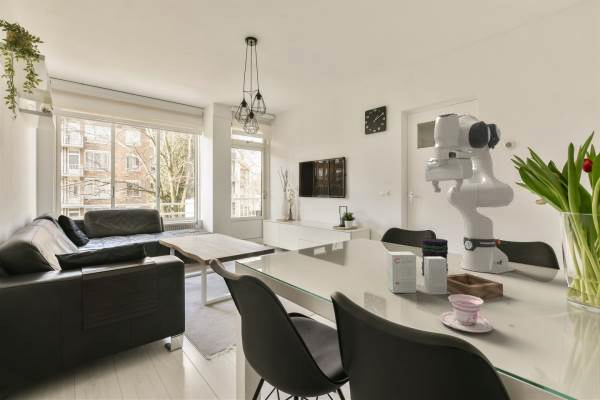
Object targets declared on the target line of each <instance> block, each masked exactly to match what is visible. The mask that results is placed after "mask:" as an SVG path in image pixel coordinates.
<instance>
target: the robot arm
mask: <svg viewBox="0 0 600 400" xmlns="http://www.w3.org/2000/svg"><path fill="white" fill-rule="evenodd" d="M434 124H435V125H434V131H433V133H434V134H433V138H434V147H433V150H434V151H433V158H430V159H429V160H428V161H427V162H426V166H425V169H424V170H425V171H424V172H425V173H424V180H425V181H426V182H431V185H432V187H433V191H434V193H436V194H437V193H441V192H442V191H441V189H442V188H441V187H440V186H439V184H440V182H443V181H444V182H445V181H455V183H456V184H453V185H451V186H450V187H449V188H448V190H447V192H446V193H447V194H446V199H447V201H448V203H449V204H450V205H451V206H452V207H454V208H455V209H456V210H457V211H458V212H459V213H460V215H461V218H462V219H463V220H462V221H463V227H464V237H463V239H462V241H463V246H464V247H463V249H462V257H461V262H460V268H461V269H465V270H467V271H468V270H469V271H472V272H478V273H479V272H481V273H491V274H498V275H499V274H502V273H507V272H513V271H515V270H516V268H515V267H514V266H511V265H509V257H508V256H507V255H506V253H505V252H503V251H501V250H500V248H498V247H497V244H498V245H500V244H501V240H500V239H499V238H498V239H497V238H494V222H493V220H492V219H491V218H489V217H488V216H486V215H484V214H481V213H479V212H478V209H477V208H502V207H507V206H509V205H511V204H512V202H513V200H514V197H515V193H514V189H513V188H512V187H511V186H510V185H509V184H507V183H504V182H502V181H500V179H498V178H496V176H495V175H494V169H493V167H494V165H493V159H492V155H491V152H490V149H492V150H494V149H495V146H497V145H498V143H499V142H500V140H501V135H502V134H501V133H502V132H501V130H500V128H499V127H498V125H497V124H496V123H486V122H485V121H483V120H479V119H478V118H477V117H476V116H474V115H472V114H465V115H462V116H460V117H459V115H458V114H457V113H447V114H442V115H438V116H437V117H436V118H435V122H434ZM464 180H466V181H467V182H468V183H464Z"/></svg>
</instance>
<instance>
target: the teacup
mask: <svg viewBox="0 0 600 400" xmlns="http://www.w3.org/2000/svg"><path fill="white" fill-rule="evenodd" d="M447 299H448V301H449V302H450V303H451V307H452V308H453V311H445V312H442V313H440V314H439V315H438V317H439V321H440V322H441V323H442V324H444V325H445V326H448V327H451V328H453V329H455V330H460V331H463V332H469V333H488V332H490V331H492V330H493V328H494V327H493V324H492V323H491V321H488V320H487V319H486V318H484V317H482V316H479V315H478V312H480V309H481V308H482V307H483V306H484V303H485V301H484V300H483V299H480V298H478V297H474V296H470V295H462V294H456V295H454V294H451V295H449V296H447ZM473 324H475V325H473Z"/></svg>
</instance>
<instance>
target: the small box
mask: <svg viewBox="0 0 600 400" xmlns="http://www.w3.org/2000/svg"><path fill="white" fill-rule="evenodd" d="M387 288H388V289H389V290H390V291H391V292H392V293H393V294H394V293H395V294H396V293H397V294H399V293H401V294H402V293H403V294H404V293H405V294H406V293H407V294H414V293H415V294H416V293H417V254H415V253H414V252H411V251H387Z"/></svg>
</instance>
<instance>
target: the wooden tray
mask: <svg viewBox="0 0 600 400" xmlns="http://www.w3.org/2000/svg"><path fill="white" fill-rule="evenodd" d="M447 293H449V294H451V295H456V294H462V295H470V296H474V297H478V298H480V299H482V300H483V299H490V298H498V297H503V296H504V284H503V283H502V282H498V281H495V280H491V279H487V278H484V277H481V276H477V275H473V274H471V273H467V272H466V273H457V274H447Z"/></svg>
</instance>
